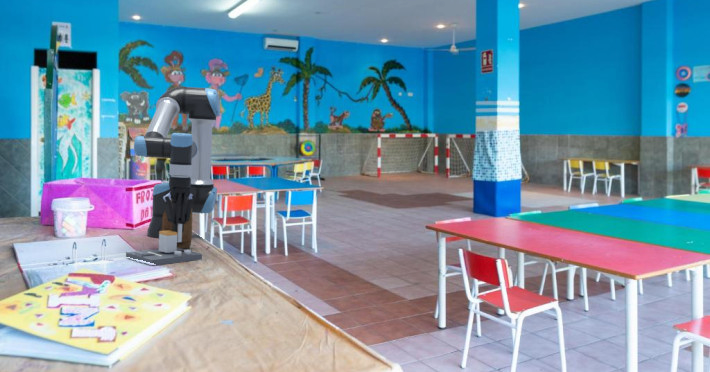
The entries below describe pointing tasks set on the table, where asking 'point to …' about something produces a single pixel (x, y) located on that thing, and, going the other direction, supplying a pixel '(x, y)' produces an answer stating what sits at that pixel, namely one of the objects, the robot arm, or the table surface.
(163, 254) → the console board
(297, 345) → the table surface
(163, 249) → the fader tab
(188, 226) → the brown rounded upright piece
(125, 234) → the table surface
